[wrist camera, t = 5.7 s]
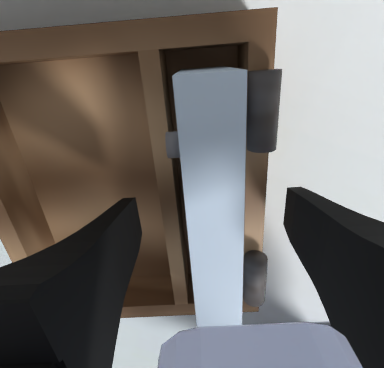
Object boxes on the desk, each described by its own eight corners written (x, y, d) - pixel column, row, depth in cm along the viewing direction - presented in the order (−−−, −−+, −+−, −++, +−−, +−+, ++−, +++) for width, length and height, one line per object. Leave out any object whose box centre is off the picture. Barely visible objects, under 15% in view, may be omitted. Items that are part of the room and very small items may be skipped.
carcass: (248, 270, 19) (264, 329, 15) (66, 279, 20) (31, 340, 15) (257, 21, 12) (292, -1, 8) (-27, 45, 13) (-138, 37, 8)
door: (226, 258, 17) (241, 348, 12) (188, 260, 17) (186, 350, 12) (222, 66, 12) (247, 69, 7) (168, 70, 12) (149, 77, 7)
